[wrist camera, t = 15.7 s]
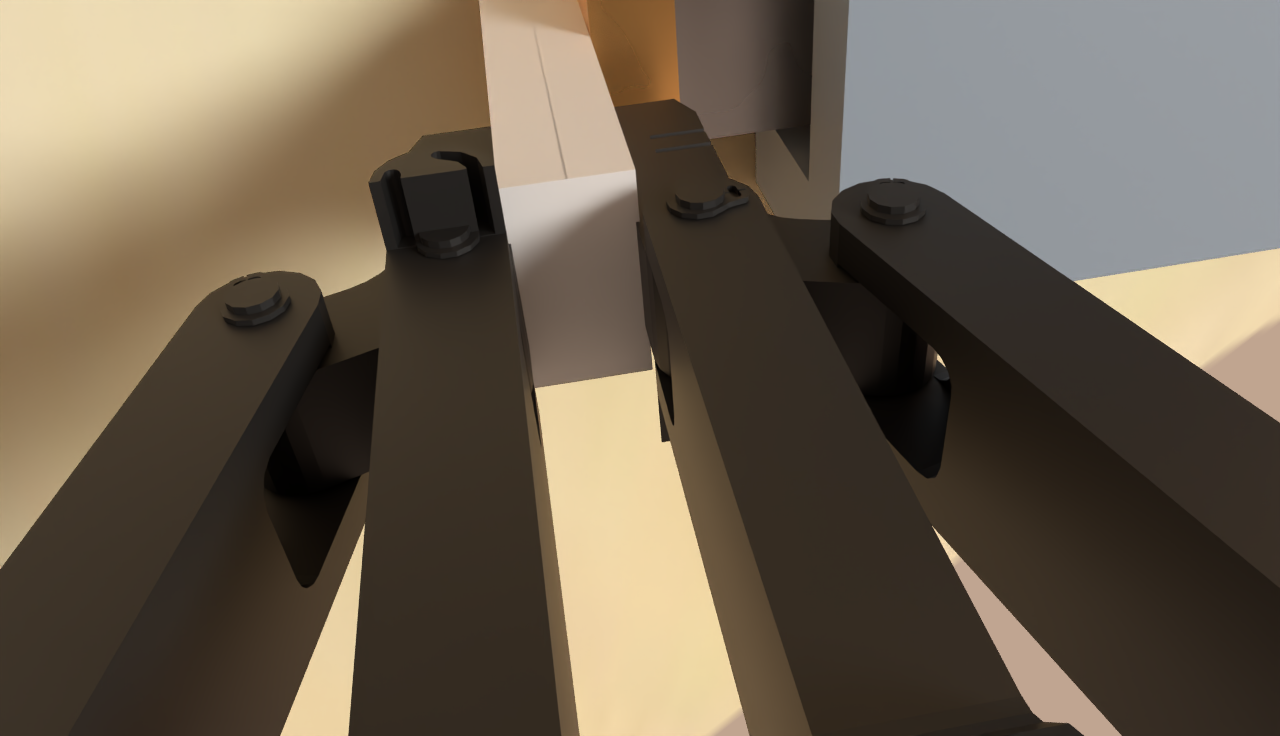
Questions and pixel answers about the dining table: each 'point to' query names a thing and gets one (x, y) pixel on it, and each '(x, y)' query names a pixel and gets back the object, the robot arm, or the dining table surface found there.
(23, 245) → the dining table surface
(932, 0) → the dock block
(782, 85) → the lock pin
